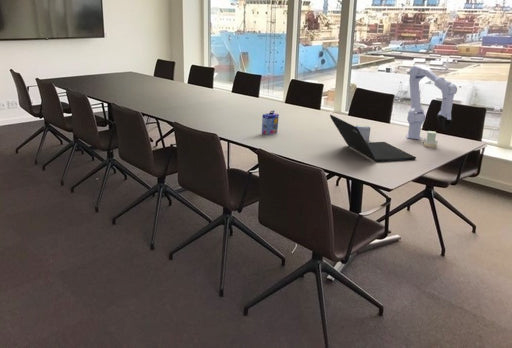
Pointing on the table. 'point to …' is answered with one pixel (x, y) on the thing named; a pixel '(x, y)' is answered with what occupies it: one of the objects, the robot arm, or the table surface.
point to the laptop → (369, 144)
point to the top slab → (430, 141)
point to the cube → (431, 135)
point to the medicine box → (364, 132)
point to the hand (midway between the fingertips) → (442, 129)
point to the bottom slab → (429, 145)
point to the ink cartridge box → (270, 123)
